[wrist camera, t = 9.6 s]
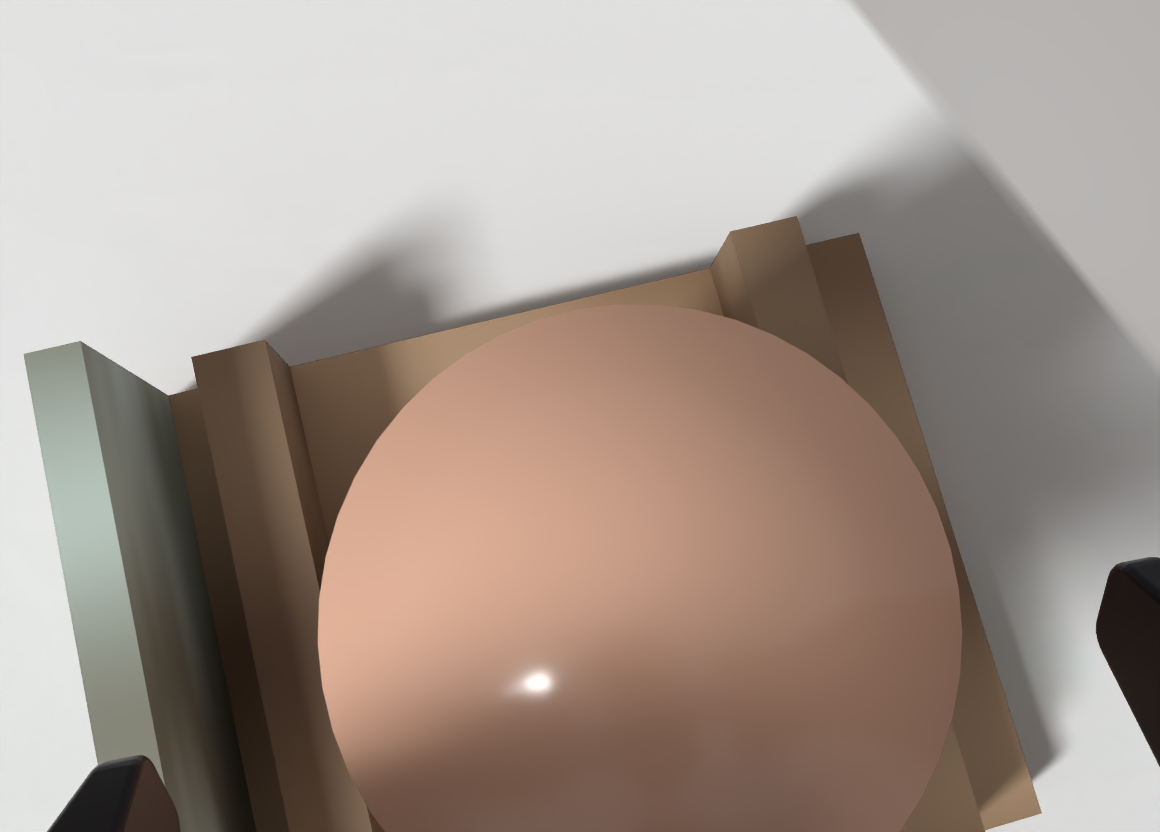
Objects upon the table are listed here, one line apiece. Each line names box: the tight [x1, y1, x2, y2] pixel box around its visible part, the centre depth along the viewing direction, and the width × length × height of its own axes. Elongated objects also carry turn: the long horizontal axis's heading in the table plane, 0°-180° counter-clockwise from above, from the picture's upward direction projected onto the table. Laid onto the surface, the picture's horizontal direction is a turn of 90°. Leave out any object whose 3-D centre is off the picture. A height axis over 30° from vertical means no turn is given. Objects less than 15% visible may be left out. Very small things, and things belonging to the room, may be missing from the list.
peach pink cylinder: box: [318, 305, 962, 832], centre depth 14 cm, size 6×6×10 cm
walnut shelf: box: [24, 216, 1042, 832], centre depth 18 cm, size 11×14×5 cm
